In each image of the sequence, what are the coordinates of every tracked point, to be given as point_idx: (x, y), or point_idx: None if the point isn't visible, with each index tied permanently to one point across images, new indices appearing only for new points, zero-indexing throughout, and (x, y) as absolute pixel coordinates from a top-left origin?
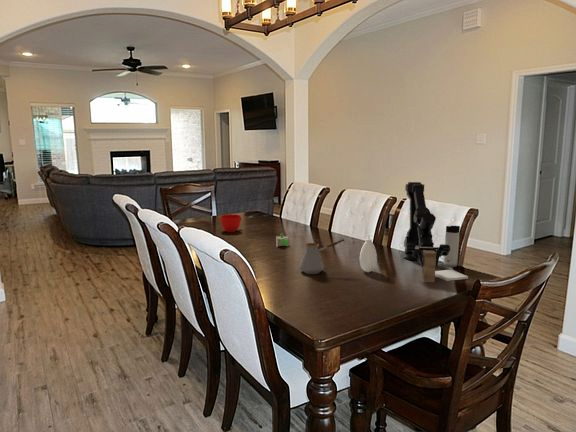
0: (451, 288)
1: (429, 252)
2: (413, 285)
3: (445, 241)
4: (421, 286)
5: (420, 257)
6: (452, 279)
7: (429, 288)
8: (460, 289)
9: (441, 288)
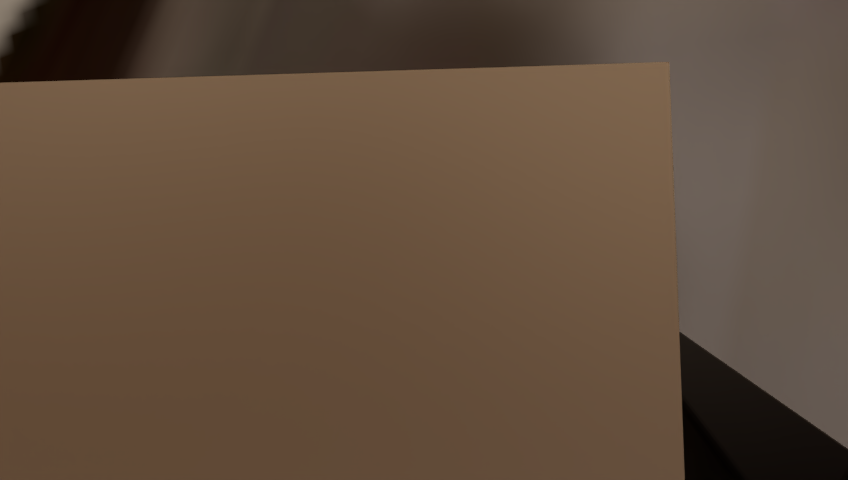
0: (200, 47)
1: (307, 179)
2: (805, 124)
3: None
4: None
5: (823, 465)
6: None
7: (545, 6)
8: (90, 21)
9: (351, 29)
